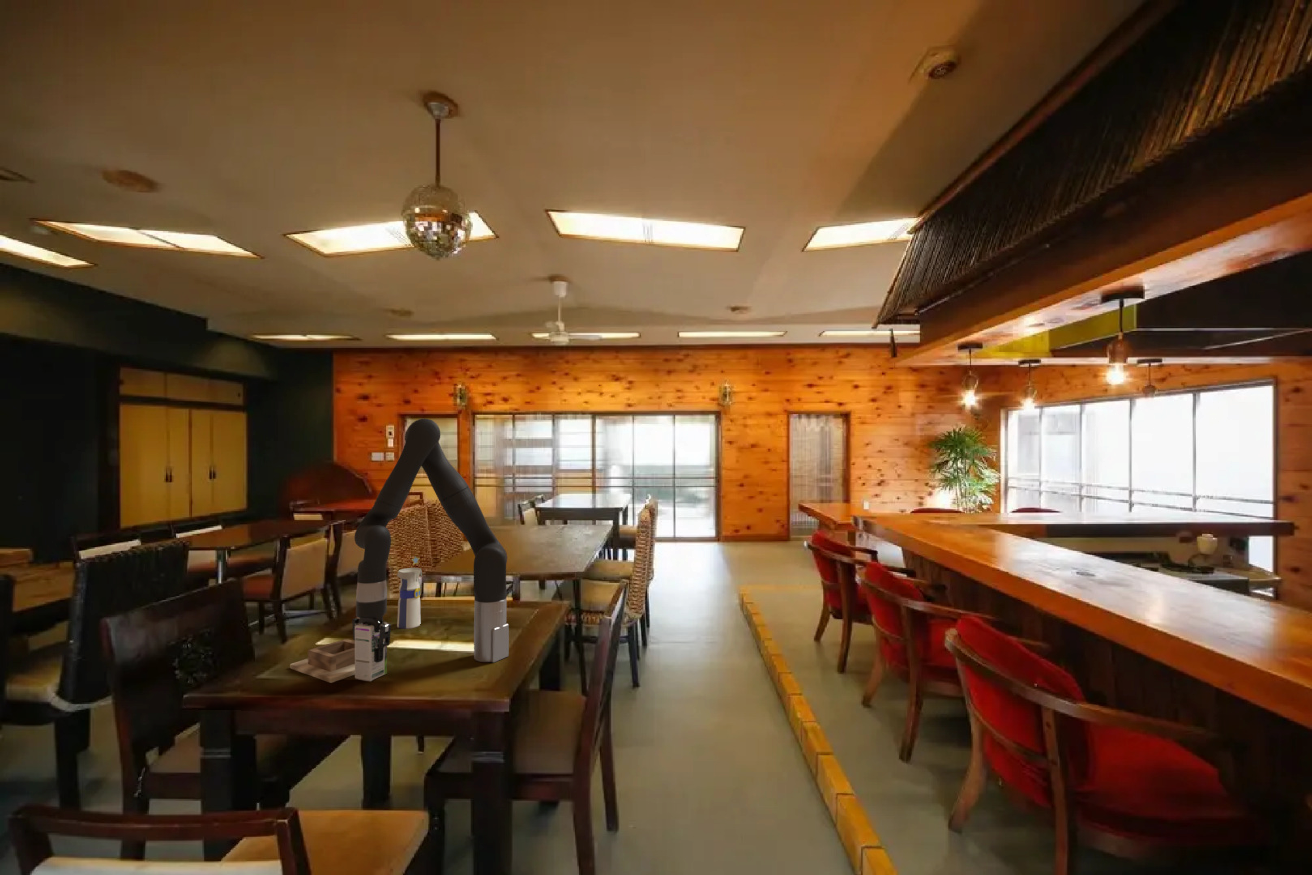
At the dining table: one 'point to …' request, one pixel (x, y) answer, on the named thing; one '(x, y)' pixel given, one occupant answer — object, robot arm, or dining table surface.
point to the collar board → (329, 661)
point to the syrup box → (368, 654)
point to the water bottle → (409, 597)
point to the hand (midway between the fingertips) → (370, 658)
